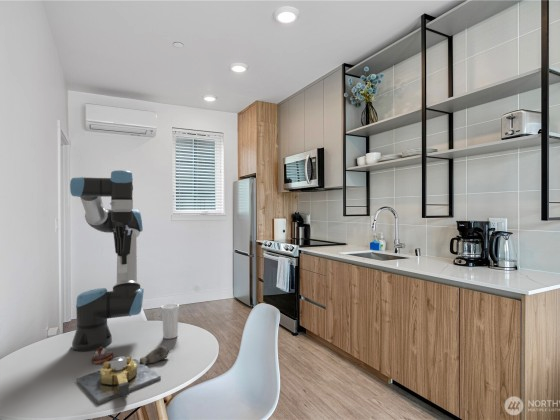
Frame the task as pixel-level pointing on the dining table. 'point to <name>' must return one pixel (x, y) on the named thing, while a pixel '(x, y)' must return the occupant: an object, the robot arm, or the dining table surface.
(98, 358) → the pastry
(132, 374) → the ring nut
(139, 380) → the base plate
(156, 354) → the stone
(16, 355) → the dining table surface
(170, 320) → the cup
